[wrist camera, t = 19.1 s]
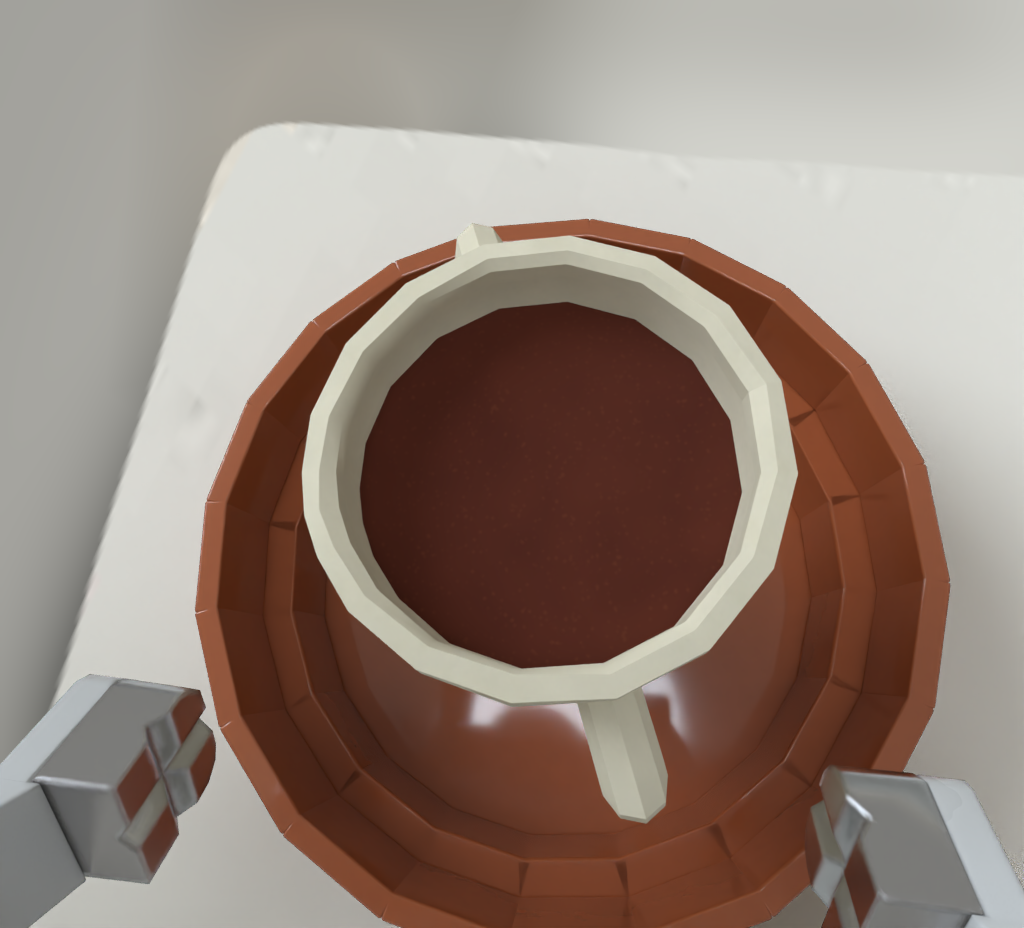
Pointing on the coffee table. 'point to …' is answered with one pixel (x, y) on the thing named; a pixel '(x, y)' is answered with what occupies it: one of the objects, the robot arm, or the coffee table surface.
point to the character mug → (552, 482)
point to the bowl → (558, 727)
